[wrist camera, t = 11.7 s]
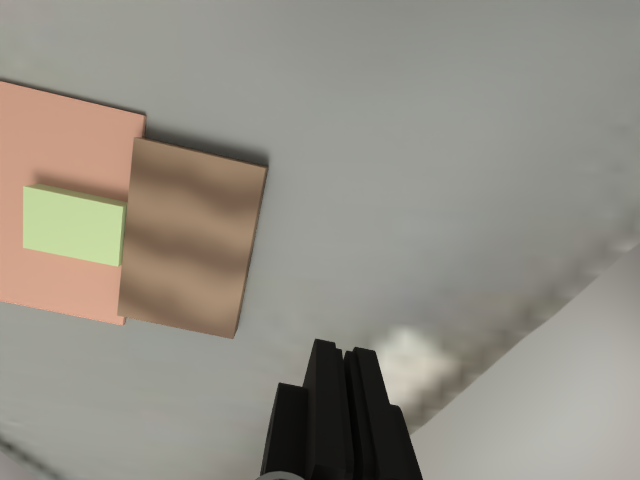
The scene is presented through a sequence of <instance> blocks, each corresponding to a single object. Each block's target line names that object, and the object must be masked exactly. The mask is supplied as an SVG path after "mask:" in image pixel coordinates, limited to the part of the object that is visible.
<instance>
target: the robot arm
mask: <svg viewBox="0 0 640 480" xmlns="http://www.w3.org/2000/svg"><path fill="white" fill-rule="evenodd" d="M256 480H423V478H422V475H421V472H420V468H419V465H418V462H417V459H416V456H415V452H414V449H413V446H412V443H411V439H410V436H409V433H408V430H407V427H406V423H405V420H404V417H403V414H402V411H401V409H400V407H399V406H397V405H391V404H390V403H389V399H388V396H387V392H386V388H385V385H384V381H383V377H382V374H381V370H380V366H379V363H378V359H377V355H376V352H375V351H373V350H368V349H364V348H359V347H355V348H354V349H353V351H346V353H345V356H344V359H343V356H342V350H341V349H337V348H336V345H335V343H334V342H329V341H325V340H320V339H315V341H314V344H313V348H312V352H311V356H310V359H309V363H308V367H307V371H306V375H305V379H304V383H303V387H300V386H295V385H290V384H284V383H279V384H278V388H277V392H276V396H275V400H274V405H273V409H272V414H271V418H270V423H269V428H268V433H267V438H266V444H265V449H264V455H263V461H262V466H261V472H260V477H258V478H257V479H256Z"/></svg>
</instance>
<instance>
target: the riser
mask: <svg viewBox="0 0 640 480" xmlns="http://www.w3.org/2000/svg"><path fill="white" fill-rule="evenodd" d="M267 172H268V167H267V166H263V165H259V164H254V163H250V162H246V161H242V160H237V159H233V158H229V157H225V156H220V155H216V154H212V153H208V152H203V151H199V150H195V149H191V148H186V147H182V146H178V145H174V144H169V143H165V142H161V141H157V140H152V139H148V138H141V137H134V141H133V151H132V162H131V172H130V183H129V194H128V204H127V215H126V225H125V236H124V247H123V257H122V268H121V278H120V289H119V300H118V310H117V316H122V317H127V318H131V319H136V320H141V321H146V322H151V323H156V324H161V325H166V326H171V327H176V328H181V329H186V330H191V331H196V332H201V333H206V334H211V335H215V336H220V337H225V338H230V339H233V338H234V336H235V334H236V331H237V328H238V323H239V318H240V313H241V307H242V302H243V297H244V292H245V287H246V281H247V276H248V271H249V266H250V261H251V255H252V250H253V245H254V240H255V235H256V229H257V224H258V219H259V214H260V209H261V203H262V198H263V193H264V188H265V183H266V177H267Z"/></svg>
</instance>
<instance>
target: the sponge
mask: <svg viewBox="0 0 640 480" xmlns="http://www.w3.org/2000/svg"><path fill="white" fill-rule="evenodd" d="M127 204H128V202H124V201H120V200H115V199H110V198H105V197H101V196H96V195H91V194H86V193H82V192H77V191H72V190H67V189H63V188H58V187H53V186H48V185H44V184H34V185H27V186H23V248H27V249H32V250H37V251H42V252H47V253H52V254H57V255H62V256H67V257H72V258H77V259H82V260H87V261H92V262H97V263H102V264H107V265H112V266H117V267H119V266H120V265H122V257H123V247H124V236H125V225H126V215H127Z"/></svg>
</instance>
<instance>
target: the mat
mask: <svg viewBox="0 0 640 480" xmlns="http://www.w3.org/2000/svg"><path fill="white" fill-rule="evenodd" d="M145 125H146V116H145V115H140V114H136V113H132V112H128V111H124V110H120V109H115V108H111V107H107V106H103V105H99V104H94V103H90V102H86V101H82V100H78V99H73V98H69V97H65V96H61V95H57V94H53V93H48V92H44V91H40V90H36V89H32V88H27V87H23V86H19V85H15V84H11V83H7V82H2V81H0V301H3V302H8V303H13V304H18V305H23V306H28V307H33V308H38V309H43V310H48V311H53V312H58V313H63V314H68V315H73V316H78V317H83V318H88V319H93V320H98V321H103V322H108V323H113V324H118V325H124V324H125V322H126V317H122V316H117V310H118V300H119V289H120V278H121V268H122V265H120V266H119V267H117V266H112V265H107V264H102V263H97V262H92V261H87V260H82V259H77V258H72V257H67V256H62V255H57V254H52V253H47V252H42V251H37V250H32V249H27V248H23V186H27V185H34V184H44V185H48V186H53V187H58V188H63V189H67V190H72V191H77V192H82V193H86V194H91V195H96V196H101V197H105V198H110V199H115V200H120V201H124V202H128V194H129V183H130V172H131V162H132V151H133V141H134V137H141V138H144V135H145Z"/></svg>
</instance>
